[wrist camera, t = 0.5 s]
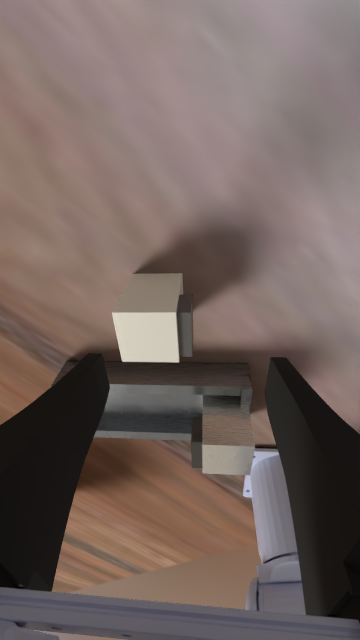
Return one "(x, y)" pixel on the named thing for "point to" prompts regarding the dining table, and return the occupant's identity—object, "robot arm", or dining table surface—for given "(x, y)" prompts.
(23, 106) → the dining table surface
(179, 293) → the cream rectangular block
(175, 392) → the rail
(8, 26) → the dining table surface
